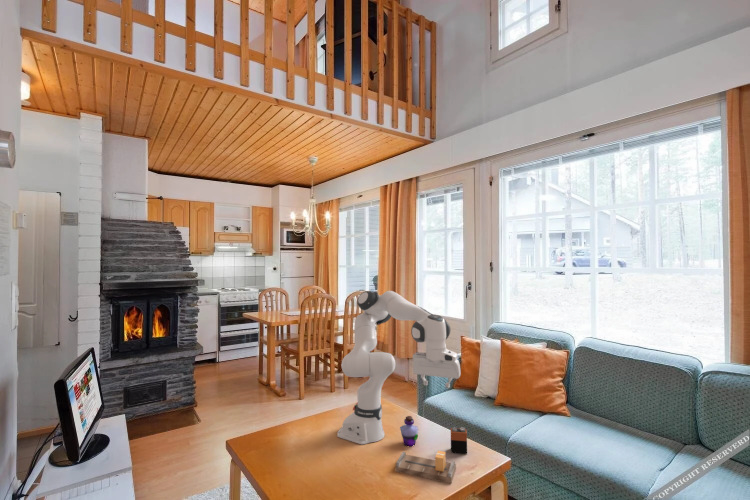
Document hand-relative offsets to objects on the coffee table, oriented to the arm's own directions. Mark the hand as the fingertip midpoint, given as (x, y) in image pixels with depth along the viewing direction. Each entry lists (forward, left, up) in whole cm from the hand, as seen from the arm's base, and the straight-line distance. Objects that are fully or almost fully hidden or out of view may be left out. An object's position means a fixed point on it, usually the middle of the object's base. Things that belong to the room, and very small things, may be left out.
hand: (436, 386), depth 158 cm
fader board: (-2, -13, -29) cm, 32 cm away
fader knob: (+4, -13, -27) cm, 30 cm away
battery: (+8, +6, -29) cm, 31 cm away
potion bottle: (-14, +5, -29) cm, 33 cm away
